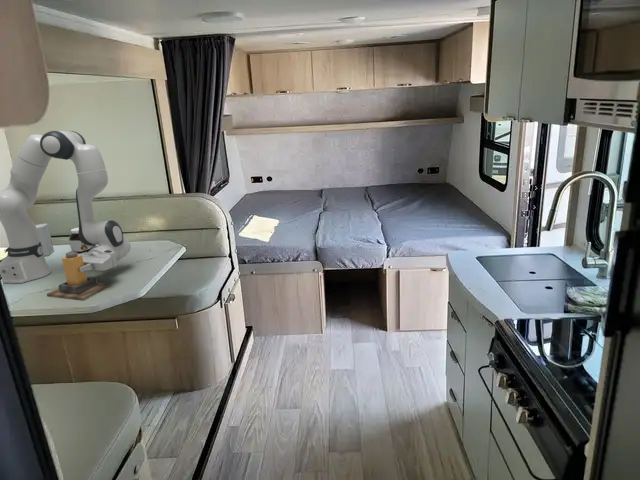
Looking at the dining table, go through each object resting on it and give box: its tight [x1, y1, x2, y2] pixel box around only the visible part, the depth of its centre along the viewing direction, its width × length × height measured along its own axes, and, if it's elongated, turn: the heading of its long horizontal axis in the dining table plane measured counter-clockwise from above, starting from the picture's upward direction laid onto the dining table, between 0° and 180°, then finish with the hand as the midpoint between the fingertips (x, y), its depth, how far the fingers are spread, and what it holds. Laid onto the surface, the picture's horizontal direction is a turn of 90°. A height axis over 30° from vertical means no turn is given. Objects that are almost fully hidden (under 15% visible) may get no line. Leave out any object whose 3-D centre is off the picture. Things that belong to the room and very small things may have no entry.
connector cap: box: [61, 251, 87, 286], centre depth 182 cm, size 5×5×14 cm
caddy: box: [46, 276, 111, 301], centre depth 185 cm, size 18×14×4 cm
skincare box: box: [35, 223, 55, 257], centre depth 231 cm, size 8×6×15 cm
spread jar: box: [68, 227, 97, 254], centre depth 235 cm, size 12×11×12 cm
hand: (72, 269), depth 182 cm, fingers closed on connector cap, 5 cm apart
